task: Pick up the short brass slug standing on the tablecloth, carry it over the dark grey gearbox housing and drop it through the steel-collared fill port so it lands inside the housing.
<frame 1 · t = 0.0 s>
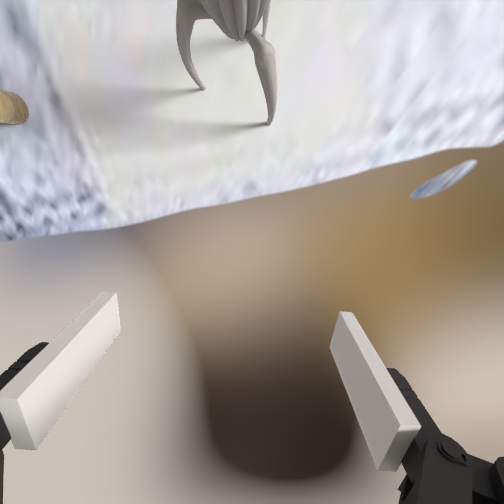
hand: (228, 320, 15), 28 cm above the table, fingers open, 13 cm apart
brass slug: (13, 108, 35), on the table
juicer: (251, 95, 35), on the table
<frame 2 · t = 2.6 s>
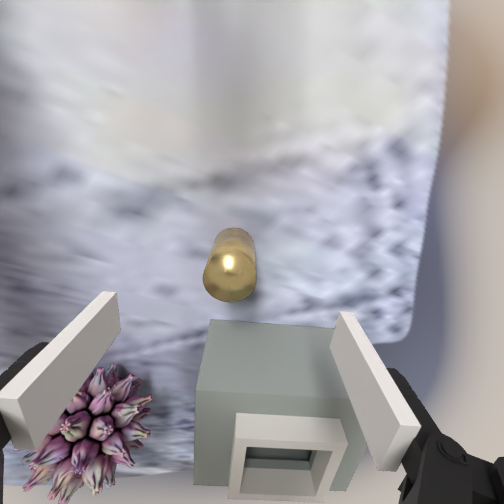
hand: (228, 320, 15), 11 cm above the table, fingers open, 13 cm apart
flower: (120, 375, 32), on the table
gearbox housing: (272, 369, 31), on the table
brass slug: (234, 247, 25), on the table
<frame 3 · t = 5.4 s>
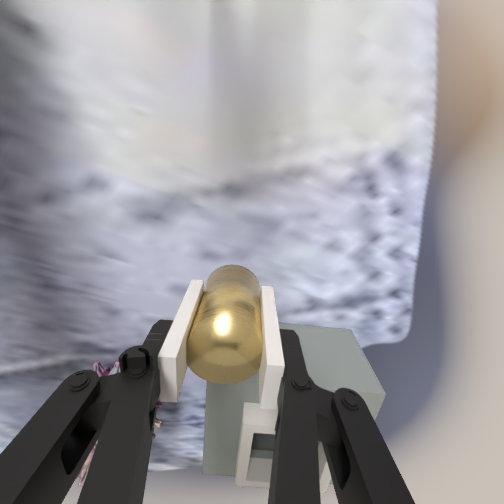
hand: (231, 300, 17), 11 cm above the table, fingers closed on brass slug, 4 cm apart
flower: (134, 370, 34), on the table
gearbox housing: (277, 367, 33), on the table
brass slug: (232, 289, 19), point 9 cm above the table, touching gripper
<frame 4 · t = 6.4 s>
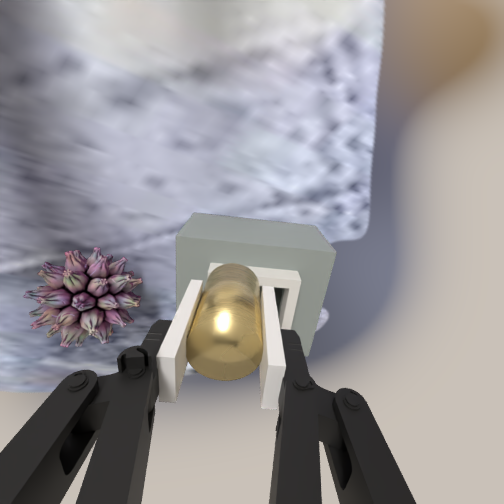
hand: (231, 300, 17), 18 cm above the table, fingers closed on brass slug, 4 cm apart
flower: (115, 271, 36), on the table
gearbox housing: (249, 266, 36), on the table
brass slug: (232, 287, 19), point 16 cm above the table, touching gripper
when the fingers open (12 cm above the table, at t = 7.6 s): brass slug drops 8 cm and tips over, resting on gearbox housing.
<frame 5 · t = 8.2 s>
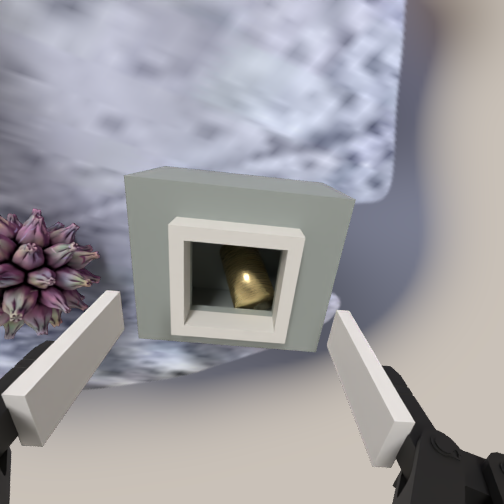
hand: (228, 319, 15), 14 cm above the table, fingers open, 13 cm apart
flower: (71, 247, 29), on the table
gearbox housing: (239, 239, 28), on the table
brass slug: (238, 249, 26), point 2 cm above the table, tilted 35°, touching gearbox housing
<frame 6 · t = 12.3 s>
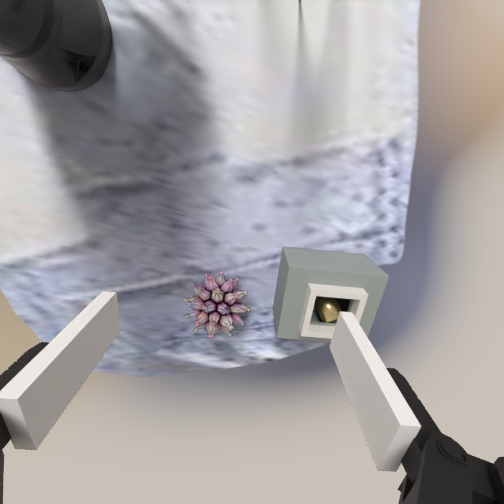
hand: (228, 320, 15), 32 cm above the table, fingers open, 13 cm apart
flower: (221, 286, 51), on the table
gearbox housing: (317, 282, 50), on the table
brass slug: (319, 289, 49), point 2 cm above the table, tilted 35°, touching gearbox housing
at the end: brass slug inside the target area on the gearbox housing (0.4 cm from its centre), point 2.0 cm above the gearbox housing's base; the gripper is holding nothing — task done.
